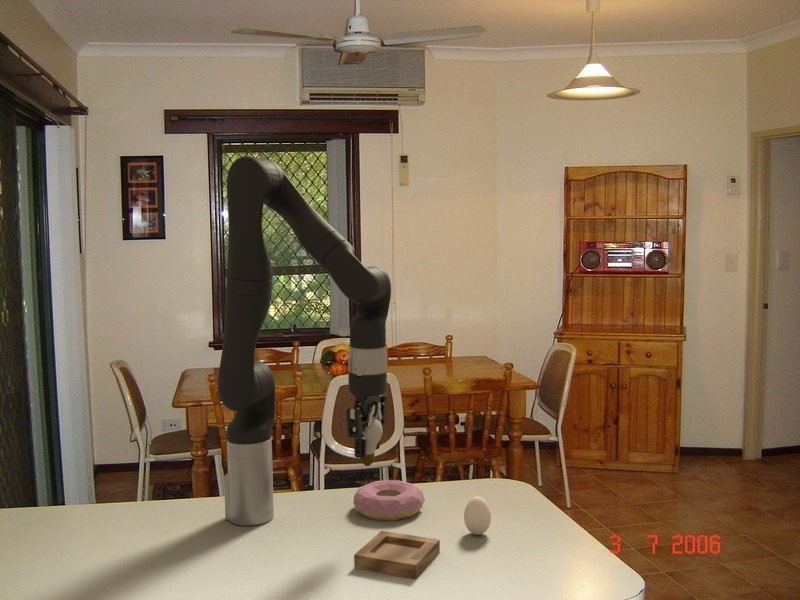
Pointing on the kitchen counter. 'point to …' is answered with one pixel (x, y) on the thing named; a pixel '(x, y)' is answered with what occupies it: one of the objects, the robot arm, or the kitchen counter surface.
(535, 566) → the kitchen counter surface
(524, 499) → the kitchen counter surface
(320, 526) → the kitchen counter surface
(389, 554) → the base
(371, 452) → the light bulb
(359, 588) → the kitchen counter surface
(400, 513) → the donut
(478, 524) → the egg
